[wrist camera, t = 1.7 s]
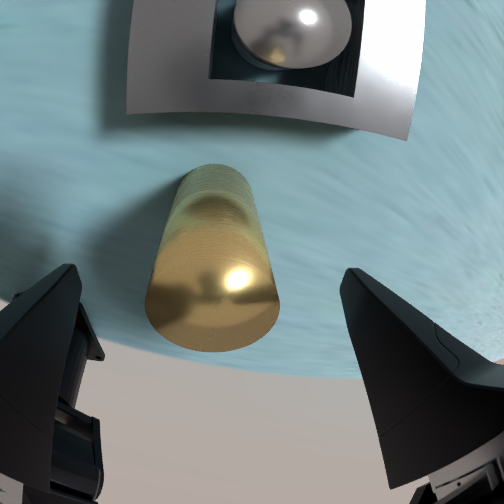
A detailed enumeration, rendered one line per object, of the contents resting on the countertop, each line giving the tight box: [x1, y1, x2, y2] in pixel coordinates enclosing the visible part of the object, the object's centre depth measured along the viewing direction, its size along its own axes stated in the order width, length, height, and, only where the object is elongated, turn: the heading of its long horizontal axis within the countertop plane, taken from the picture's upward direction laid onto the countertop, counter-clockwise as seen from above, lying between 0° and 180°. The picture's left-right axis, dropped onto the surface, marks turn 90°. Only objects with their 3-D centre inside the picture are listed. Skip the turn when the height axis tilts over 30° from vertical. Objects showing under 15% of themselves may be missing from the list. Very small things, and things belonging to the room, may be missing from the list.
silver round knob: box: [231, 0, 352, 71], centre depth 7 cm, size 4×4×4 cm
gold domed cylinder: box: [145, 164, 280, 352], centre depth 10 cm, size 4×4×7 cm
